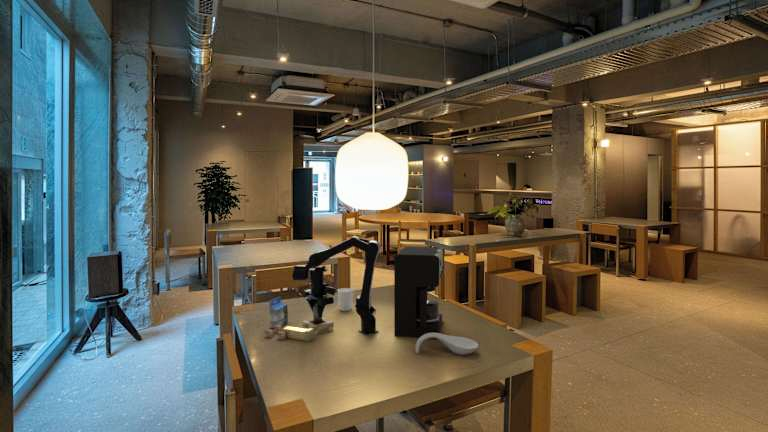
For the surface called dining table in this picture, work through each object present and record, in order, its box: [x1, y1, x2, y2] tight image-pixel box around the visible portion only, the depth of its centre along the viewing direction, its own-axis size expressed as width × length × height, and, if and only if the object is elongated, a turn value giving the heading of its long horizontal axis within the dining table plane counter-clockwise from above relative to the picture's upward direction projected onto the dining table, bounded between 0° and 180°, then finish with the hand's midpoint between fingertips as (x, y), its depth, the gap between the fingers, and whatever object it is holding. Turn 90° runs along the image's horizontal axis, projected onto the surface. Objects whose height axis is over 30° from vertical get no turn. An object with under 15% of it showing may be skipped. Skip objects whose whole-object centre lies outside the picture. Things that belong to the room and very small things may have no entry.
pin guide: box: [264, 325, 287, 340], centre depth 169 cm, size 9×7×3 cm
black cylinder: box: [312, 304, 323, 324], centre depth 176 cm, size 4×4×8 cm
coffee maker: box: [393, 246, 445, 340], centre depth 175 cm, size 28×20×35 cm
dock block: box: [301, 316, 334, 336], centre depth 176 cm, size 10×10×4 cm
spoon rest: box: [414, 332, 479, 356], centre depth 152 cm, size 24×12×7 cm, turn 92°
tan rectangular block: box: [282, 325, 316, 342], centre depth 166 cm, size 13×4×4 cm, turn 68°
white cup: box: [337, 287, 354, 312], centre depth 206 cm, size 8×8×10 cm
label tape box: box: [269, 295, 289, 329], centre depth 182 cm, size 9×4×12 cm, turn 161°
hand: (317, 316), depth 176 cm, fingers closed on black cylinder, 4 cm apart
